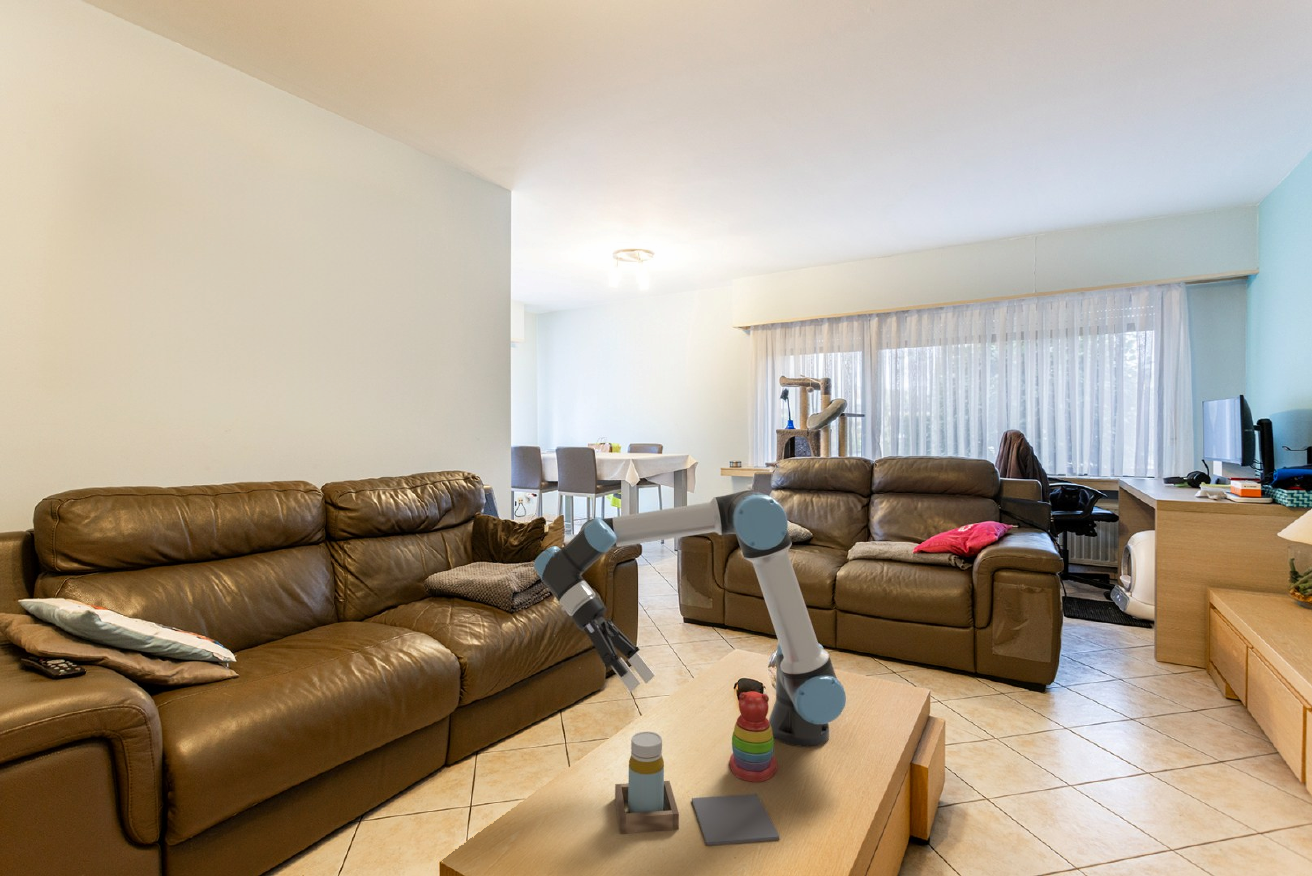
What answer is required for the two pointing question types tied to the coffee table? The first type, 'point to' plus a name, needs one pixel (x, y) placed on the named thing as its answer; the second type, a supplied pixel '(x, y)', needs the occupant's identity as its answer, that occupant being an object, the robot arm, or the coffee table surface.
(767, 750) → the stacking bear
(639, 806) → the bottle
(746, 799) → the charcoal mat
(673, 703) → the coffee table surface
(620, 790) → the walnut collar
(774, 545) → the robot arm
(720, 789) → the coffee table surface
